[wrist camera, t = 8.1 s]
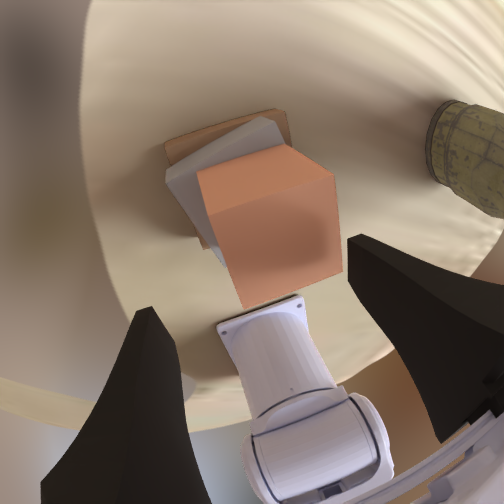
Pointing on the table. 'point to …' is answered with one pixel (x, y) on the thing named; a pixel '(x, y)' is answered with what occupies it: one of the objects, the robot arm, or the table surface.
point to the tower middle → (220, 150)
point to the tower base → (200, 138)
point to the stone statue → (469, 154)
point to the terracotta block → (273, 221)
